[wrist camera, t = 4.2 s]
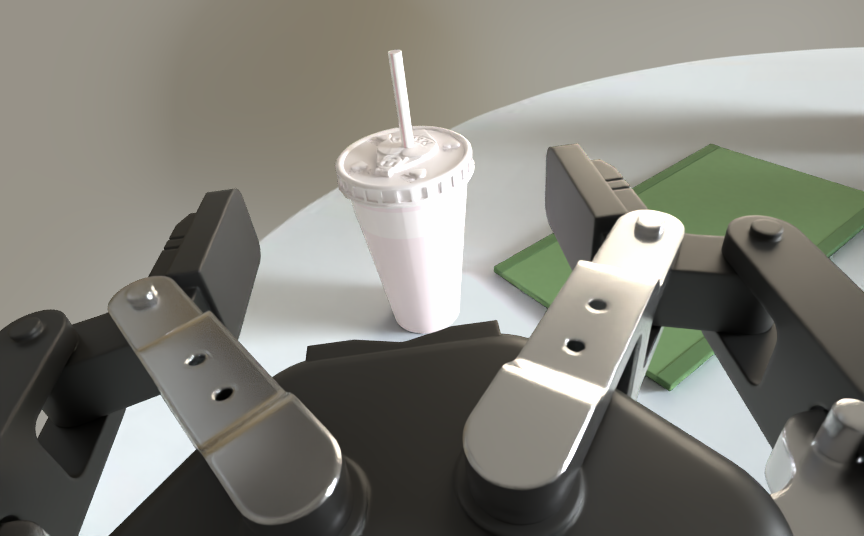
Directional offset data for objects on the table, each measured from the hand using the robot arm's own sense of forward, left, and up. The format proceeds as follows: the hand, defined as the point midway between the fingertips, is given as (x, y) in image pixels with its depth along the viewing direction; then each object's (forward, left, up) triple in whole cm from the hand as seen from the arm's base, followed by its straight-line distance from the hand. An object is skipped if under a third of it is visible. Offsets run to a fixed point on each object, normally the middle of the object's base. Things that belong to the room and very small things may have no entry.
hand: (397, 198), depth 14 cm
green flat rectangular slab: (-21, -3, -13) cm, 25 cm away
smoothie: (-5, -9, -13) cm, 17 cm away
